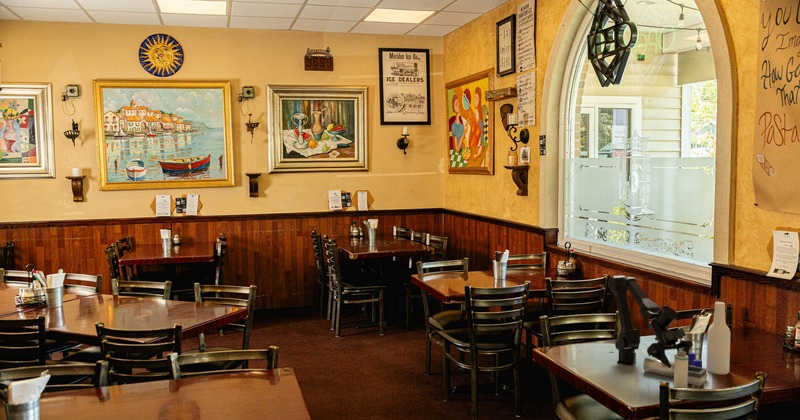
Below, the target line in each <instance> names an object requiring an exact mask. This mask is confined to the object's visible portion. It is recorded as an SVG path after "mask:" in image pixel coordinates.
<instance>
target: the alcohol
mask: <svg viewBox="0 0 800 420" xmlns="http://www.w3.org/2000/svg"><path fill="white" fill-rule="evenodd" d="M713 313H714V314H713V321H712V323H711V324H710V325H709V327H708V329H707V340H706V342H707V345H706V368H705V369H707V372H708V373H710V374H714V375H723V376H724V375H727V374H728V373H729V372H730V362H731V359H730V358H731V356H730V355H731V330H730V328H729V326H728V325H727V323H726V303H725V302H724V301H723V302H722V301H715V302H714V312H713Z"/></svg>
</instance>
